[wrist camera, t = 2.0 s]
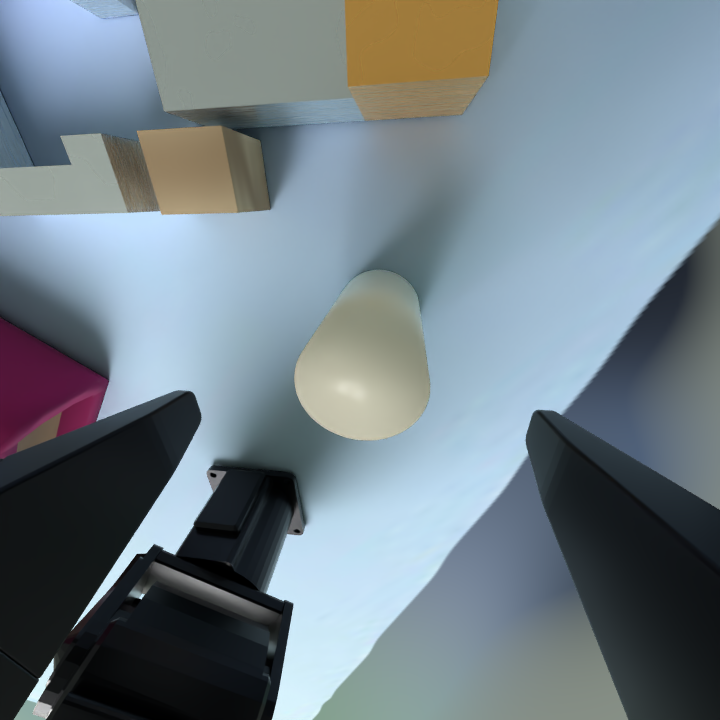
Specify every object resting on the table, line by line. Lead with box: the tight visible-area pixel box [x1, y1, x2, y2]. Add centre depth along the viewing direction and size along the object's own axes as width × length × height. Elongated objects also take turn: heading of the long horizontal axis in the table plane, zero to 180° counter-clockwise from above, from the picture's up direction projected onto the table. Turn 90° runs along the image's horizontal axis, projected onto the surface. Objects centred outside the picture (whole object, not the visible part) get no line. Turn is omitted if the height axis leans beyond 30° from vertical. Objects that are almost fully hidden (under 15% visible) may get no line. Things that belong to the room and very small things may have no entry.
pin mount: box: [137, 125, 271, 215], centre depth 10 cm, size 9×3×3 cm, turn 2°
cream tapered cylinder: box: [294, 270, 430, 441], centre depth 12 cm, size 4×4×7 cm
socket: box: [0, 0, 160, 216], centre depth 11 cm, size 9×9×4 cm
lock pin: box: [135, 0, 498, 129], centre depth 9 cm, size 3×10×4 cm, turn 92°
